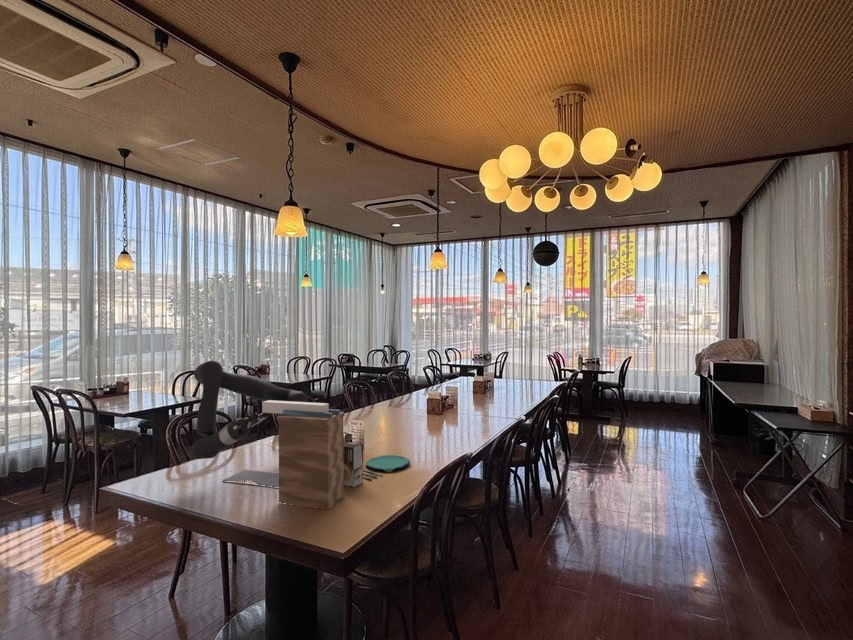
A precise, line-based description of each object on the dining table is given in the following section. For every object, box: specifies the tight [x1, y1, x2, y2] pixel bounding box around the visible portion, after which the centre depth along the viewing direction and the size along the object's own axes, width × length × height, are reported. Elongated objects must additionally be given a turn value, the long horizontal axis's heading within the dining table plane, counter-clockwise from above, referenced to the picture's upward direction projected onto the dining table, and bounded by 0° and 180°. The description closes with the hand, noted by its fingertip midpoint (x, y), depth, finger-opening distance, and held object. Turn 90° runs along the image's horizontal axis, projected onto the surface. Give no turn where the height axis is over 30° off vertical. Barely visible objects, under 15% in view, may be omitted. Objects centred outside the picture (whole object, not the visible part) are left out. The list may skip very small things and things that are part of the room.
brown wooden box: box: [276, 408, 346, 510], centre depth 166 cm, size 14×20×34 cm
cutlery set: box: [363, 454, 411, 481], centre depth 203 cm, size 20×30×2 cm, turn 143°
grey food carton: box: [343, 441, 364, 488], centre depth 184 cm, size 9×6×16 cm
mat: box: [222, 469, 279, 487], centre depth 188 cm, size 14×30×1 cm, turn 74°
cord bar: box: [261, 400, 330, 415], centre depth 168 cm, size 4×26×4 cm, turn 74°
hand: (264, 412), depth 172 cm, fingers open, 8 cm apart
